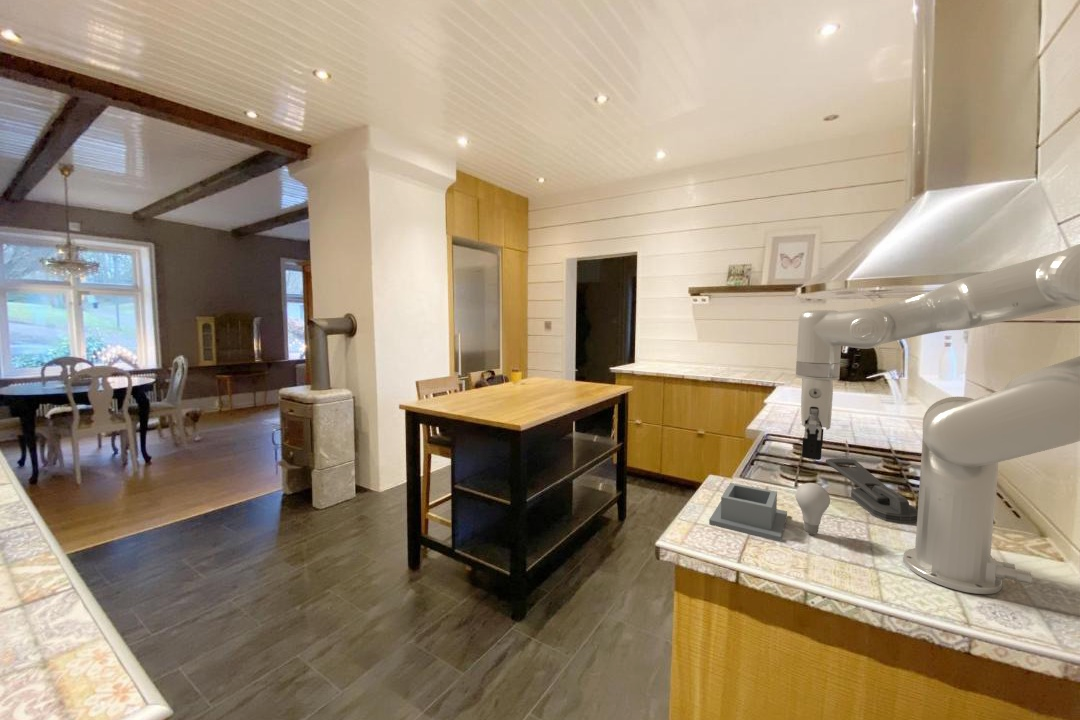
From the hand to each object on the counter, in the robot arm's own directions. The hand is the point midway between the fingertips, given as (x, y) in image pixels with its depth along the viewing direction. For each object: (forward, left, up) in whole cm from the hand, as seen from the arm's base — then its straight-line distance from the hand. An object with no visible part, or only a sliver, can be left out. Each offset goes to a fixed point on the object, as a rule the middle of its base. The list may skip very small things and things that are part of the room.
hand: (812, 451), depth 89 cm
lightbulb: (0, 0, -18) cm, 18 cm away
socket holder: (+12, 0, -18) cm, 21 cm away
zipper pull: (-11, -27, -18) cm, 35 cm away
